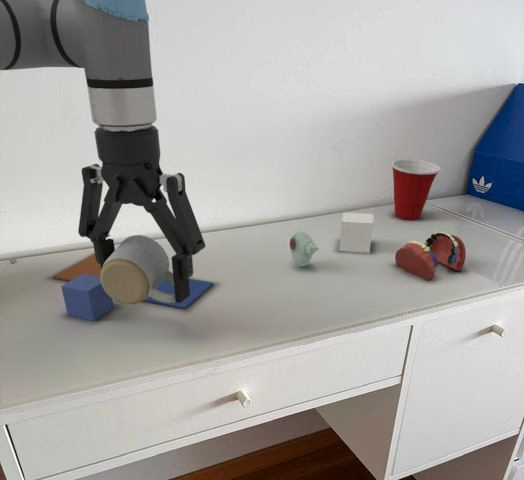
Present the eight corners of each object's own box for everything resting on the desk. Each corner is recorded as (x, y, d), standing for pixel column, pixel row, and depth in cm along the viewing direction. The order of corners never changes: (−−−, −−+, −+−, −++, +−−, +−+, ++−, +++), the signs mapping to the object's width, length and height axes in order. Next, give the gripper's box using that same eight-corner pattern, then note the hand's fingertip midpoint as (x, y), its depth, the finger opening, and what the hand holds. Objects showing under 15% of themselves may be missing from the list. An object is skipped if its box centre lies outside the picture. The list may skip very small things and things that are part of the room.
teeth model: (392, 234, 92) (441, 223, 97) (387, 266, 96) (434, 255, 101) (426, 250, 86) (476, 238, 91) (419, 284, 90) (467, 271, 95)
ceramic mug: (100, 306, 71) (91, 253, 67) (123, 281, 78) (116, 231, 74) (174, 313, 70) (170, 259, 65) (191, 287, 76) (188, 237, 72)
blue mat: (126, 298, 85) (126, 296, 85) (158, 275, 93) (158, 273, 93) (185, 309, 82) (185, 307, 81) (213, 284, 89) (213, 282, 89)
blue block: (67, 315, 80) (60, 286, 77) (88, 302, 84) (82, 273, 81) (94, 321, 78) (88, 291, 76) (113, 307, 82) (108, 278, 80)
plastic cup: (414, 227, 115) (423, 171, 109) (375, 216, 122) (381, 163, 115) (441, 217, 121) (450, 163, 115) (402, 207, 128) (409, 156, 122)
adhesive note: (341, 240, 108) (343, 212, 105) (370, 242, 107) (373, 214, 104) (339, 251, 103) (341, 221, 100) (369, 253, 102) (372, 223, 99)
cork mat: (53, 278, 92) (52, 276, 92) (101, 251, 103) (101, 249, 103) (113, 289, 88) (113, 287, 88) (157, 260, 99) (157, 258, 99)
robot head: (321, 272, 94) (323, 236, 90) (301, 276, 92) (302, 240, 89) (299, 257, 100) (300, 223, 96) (280, 261, 98) (281, 226, 95)
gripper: (227, 127, 61) (232, 294, 73) (67, 115, 69) (95, 269, 80) (198, 138, 55) (208, 318, 67) (26, 123, 63) (62, 288, 74)
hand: (146, 291), depth 74 cm, fingers closed on ceramic mug, 11 cm apart
